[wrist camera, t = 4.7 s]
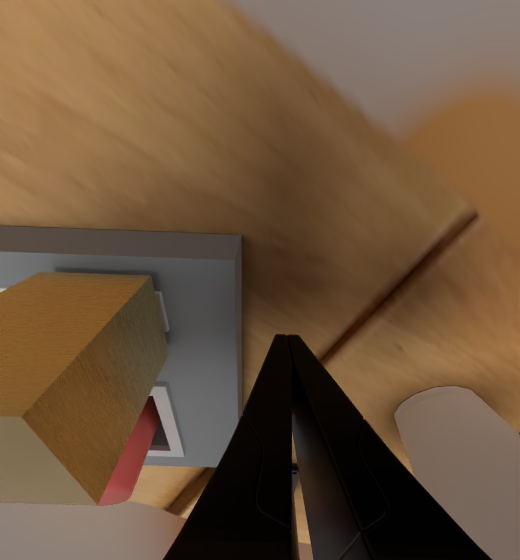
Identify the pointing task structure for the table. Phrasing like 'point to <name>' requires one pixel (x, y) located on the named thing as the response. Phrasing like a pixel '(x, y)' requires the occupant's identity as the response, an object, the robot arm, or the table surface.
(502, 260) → the table surface
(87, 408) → the brass slider
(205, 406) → the panel
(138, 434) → the red button
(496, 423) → the foam cup
